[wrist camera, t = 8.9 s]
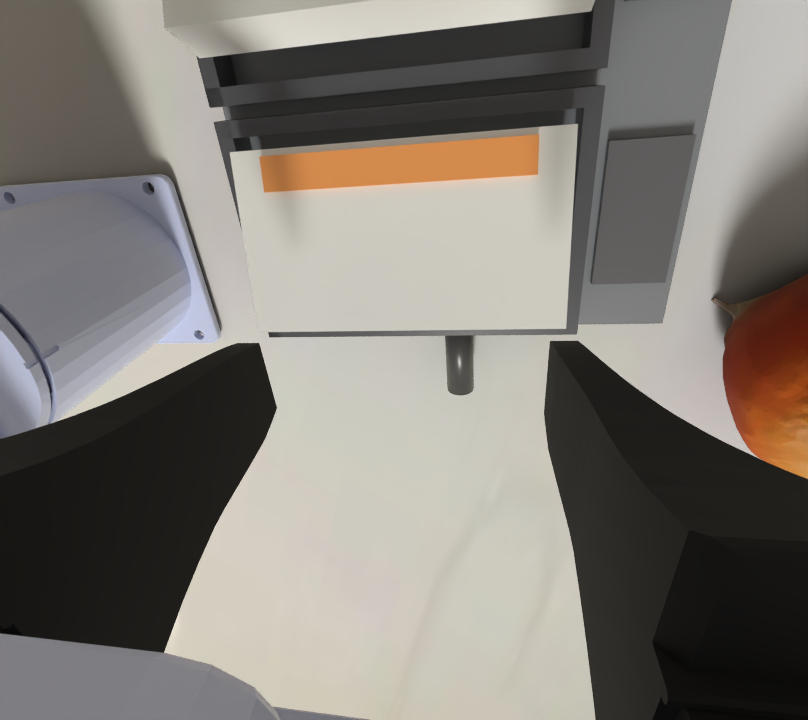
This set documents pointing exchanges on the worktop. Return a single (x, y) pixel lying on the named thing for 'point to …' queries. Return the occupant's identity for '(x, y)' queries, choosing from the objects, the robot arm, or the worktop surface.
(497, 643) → the worktop surface
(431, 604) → the worktop surface
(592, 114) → the rocker switch panel
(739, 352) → the fruit
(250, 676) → the worktop surface
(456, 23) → the rocker middle
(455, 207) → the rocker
